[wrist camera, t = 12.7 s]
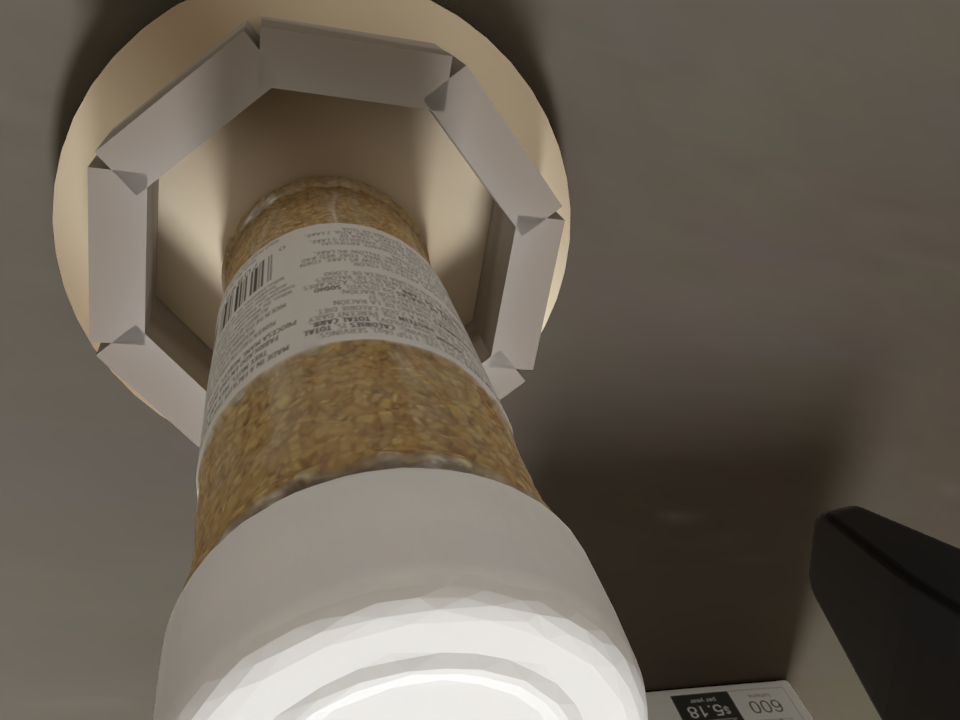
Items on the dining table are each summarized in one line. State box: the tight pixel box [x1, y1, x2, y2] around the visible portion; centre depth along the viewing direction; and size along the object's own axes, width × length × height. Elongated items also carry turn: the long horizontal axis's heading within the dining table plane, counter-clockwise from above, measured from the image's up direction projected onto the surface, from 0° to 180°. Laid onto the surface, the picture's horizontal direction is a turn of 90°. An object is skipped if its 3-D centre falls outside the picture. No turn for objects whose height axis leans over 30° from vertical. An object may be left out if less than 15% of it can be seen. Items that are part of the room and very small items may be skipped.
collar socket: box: [53, 0, 570, 448], centre depth 19 cm, size 11×11×3 cm
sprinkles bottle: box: [153, 176, 648, 720], centre depth 14 cm, size 5×5×13 cm
